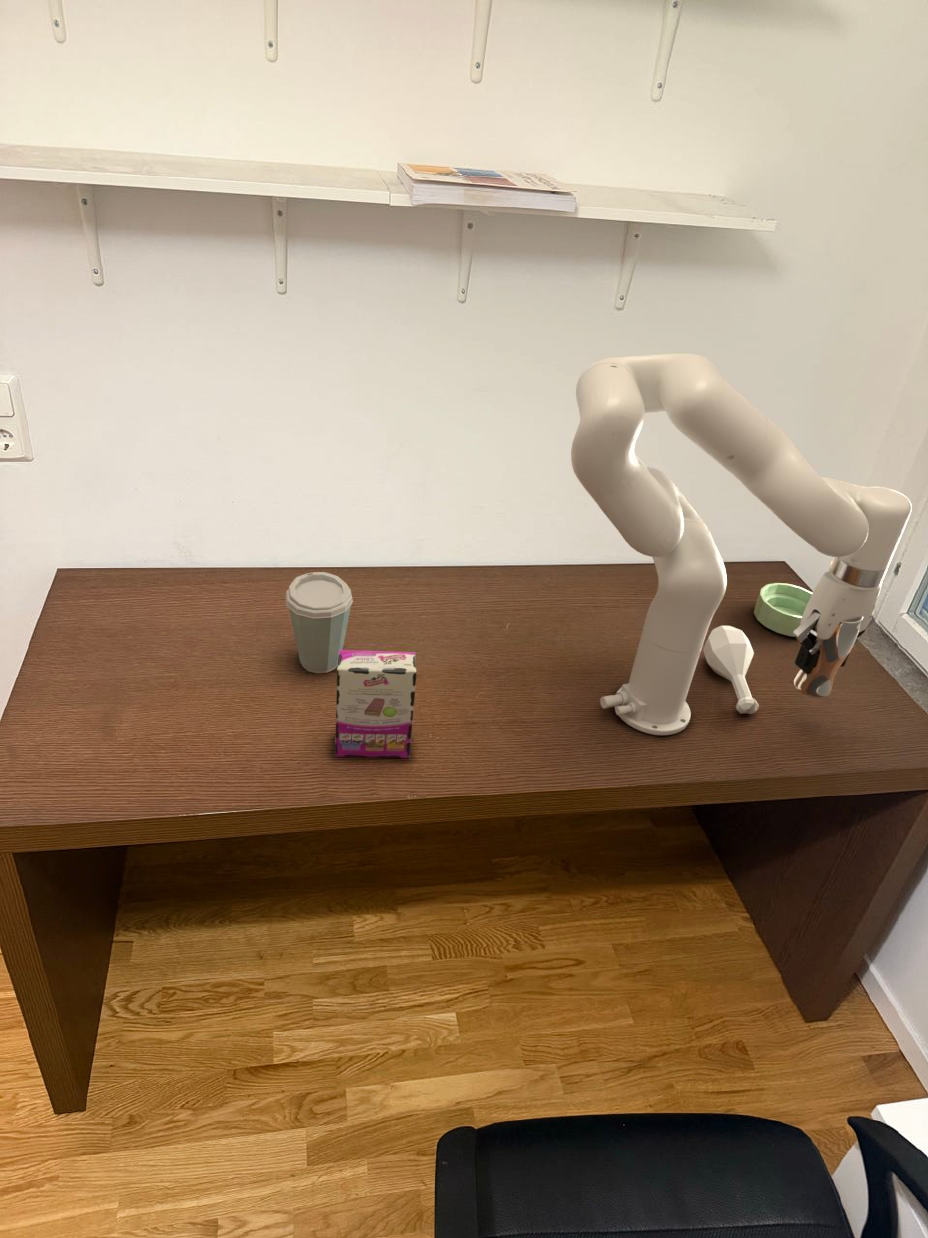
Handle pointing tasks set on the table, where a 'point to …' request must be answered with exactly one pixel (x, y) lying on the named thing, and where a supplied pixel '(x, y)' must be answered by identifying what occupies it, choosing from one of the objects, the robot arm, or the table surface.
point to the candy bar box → (374, 703)
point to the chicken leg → (732, 662)
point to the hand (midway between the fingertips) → (819, 664)
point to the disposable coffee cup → (319, 618)
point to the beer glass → (828, 660)
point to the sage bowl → (781, 607)
